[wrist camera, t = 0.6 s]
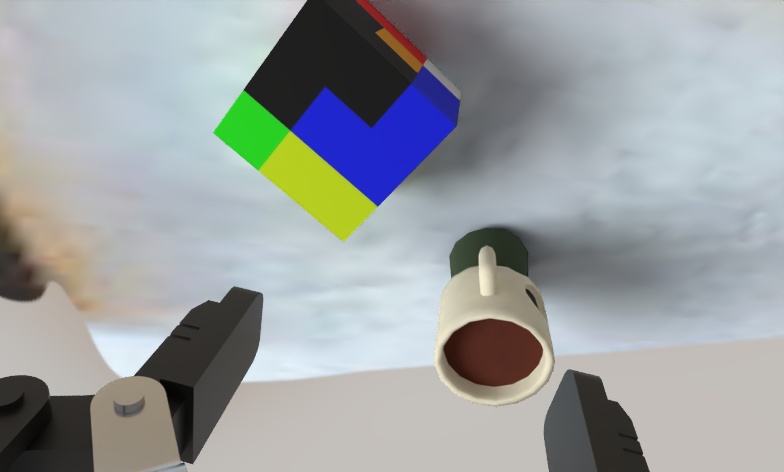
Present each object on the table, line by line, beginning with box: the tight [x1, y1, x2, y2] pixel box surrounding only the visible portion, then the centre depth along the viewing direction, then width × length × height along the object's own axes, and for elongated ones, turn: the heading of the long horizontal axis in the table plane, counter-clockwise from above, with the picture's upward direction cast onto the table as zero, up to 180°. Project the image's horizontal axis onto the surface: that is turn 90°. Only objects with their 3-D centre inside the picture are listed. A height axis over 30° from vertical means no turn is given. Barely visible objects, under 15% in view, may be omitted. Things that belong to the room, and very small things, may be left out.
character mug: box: [434, 228, 555, 407], centre depth 37 cm, size 11×7×13 cm, turn 8°
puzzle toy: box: [213, 0, 461, 242], centre depth 34 cm, size 10×10×10 cm
